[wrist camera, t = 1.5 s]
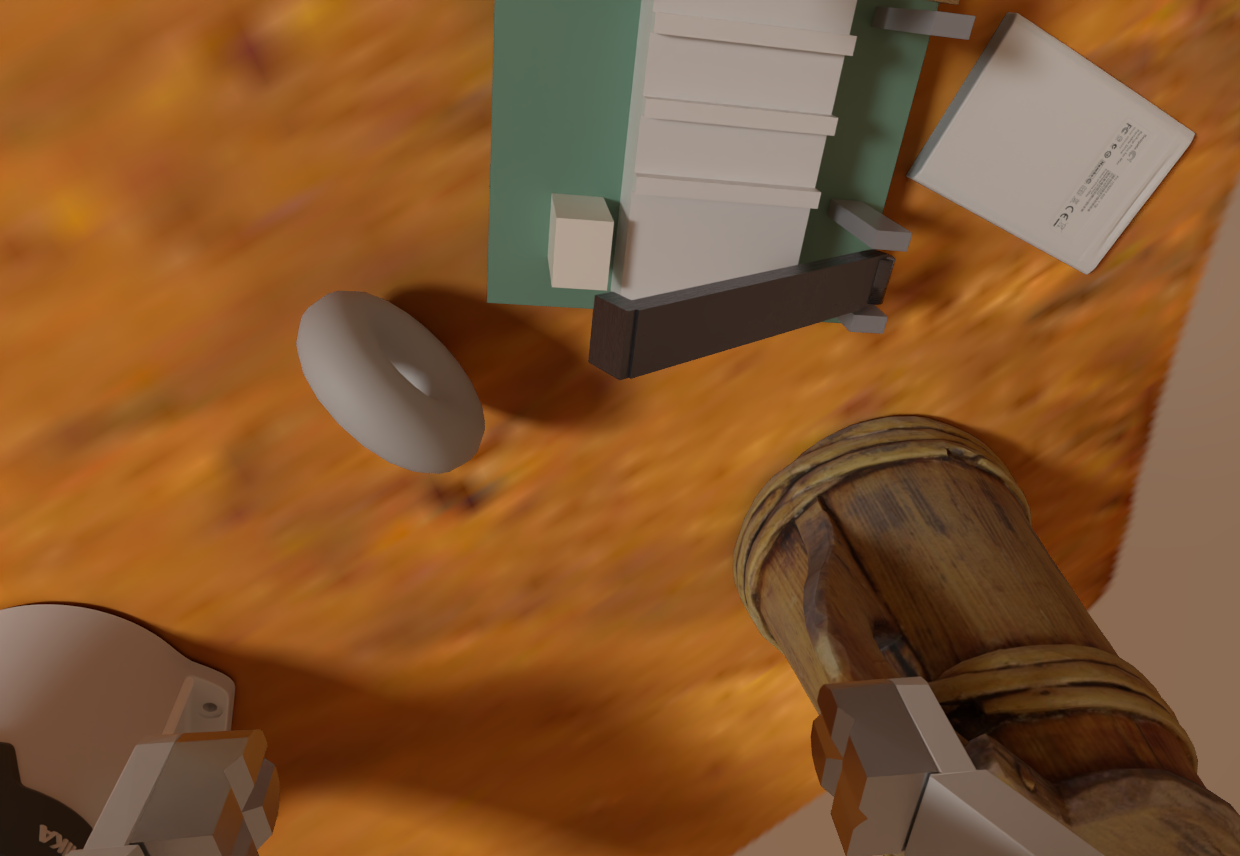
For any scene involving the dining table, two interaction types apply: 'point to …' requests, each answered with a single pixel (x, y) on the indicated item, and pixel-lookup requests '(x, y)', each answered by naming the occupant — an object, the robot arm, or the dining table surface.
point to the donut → (390, 382)
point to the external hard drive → (1049, 146)
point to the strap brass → (945, 1)
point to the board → (590, 120)
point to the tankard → (970, 630)
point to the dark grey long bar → (730, 312)
